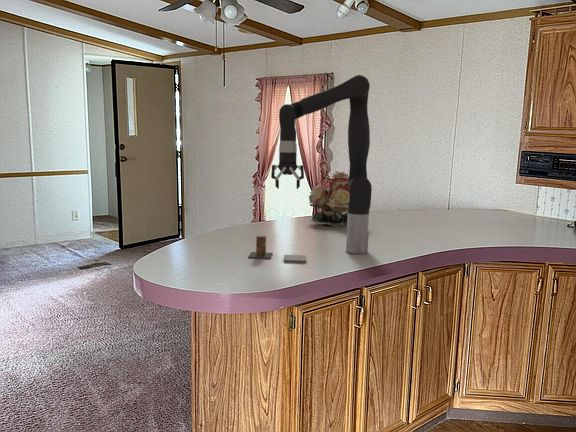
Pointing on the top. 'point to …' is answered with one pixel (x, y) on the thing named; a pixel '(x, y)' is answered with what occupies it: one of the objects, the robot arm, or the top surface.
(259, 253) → the block
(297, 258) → the tile
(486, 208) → the top surface
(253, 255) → the mat
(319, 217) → the rose bouquet
